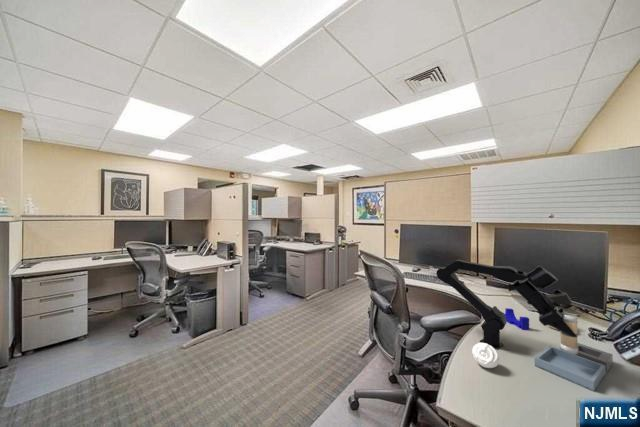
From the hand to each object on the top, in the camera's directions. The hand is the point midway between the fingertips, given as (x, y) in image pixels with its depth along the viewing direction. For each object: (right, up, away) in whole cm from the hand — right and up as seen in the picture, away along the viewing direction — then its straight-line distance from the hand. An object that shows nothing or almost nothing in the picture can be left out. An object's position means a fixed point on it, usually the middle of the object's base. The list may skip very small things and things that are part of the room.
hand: (574, 333), depth 80 cm
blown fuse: (-1, -7, +1) cm, 7 cm away
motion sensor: (-30, -13, +3) cm, 33 cm away
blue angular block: (+10, -15, +36) cm, 40 cm away
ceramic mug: (+29, -15, +31) cm, 44 cm away
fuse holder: (+13, -14, +6) cm, 20 cm away
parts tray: (-1, -13, +1) cm, 13 cm away
